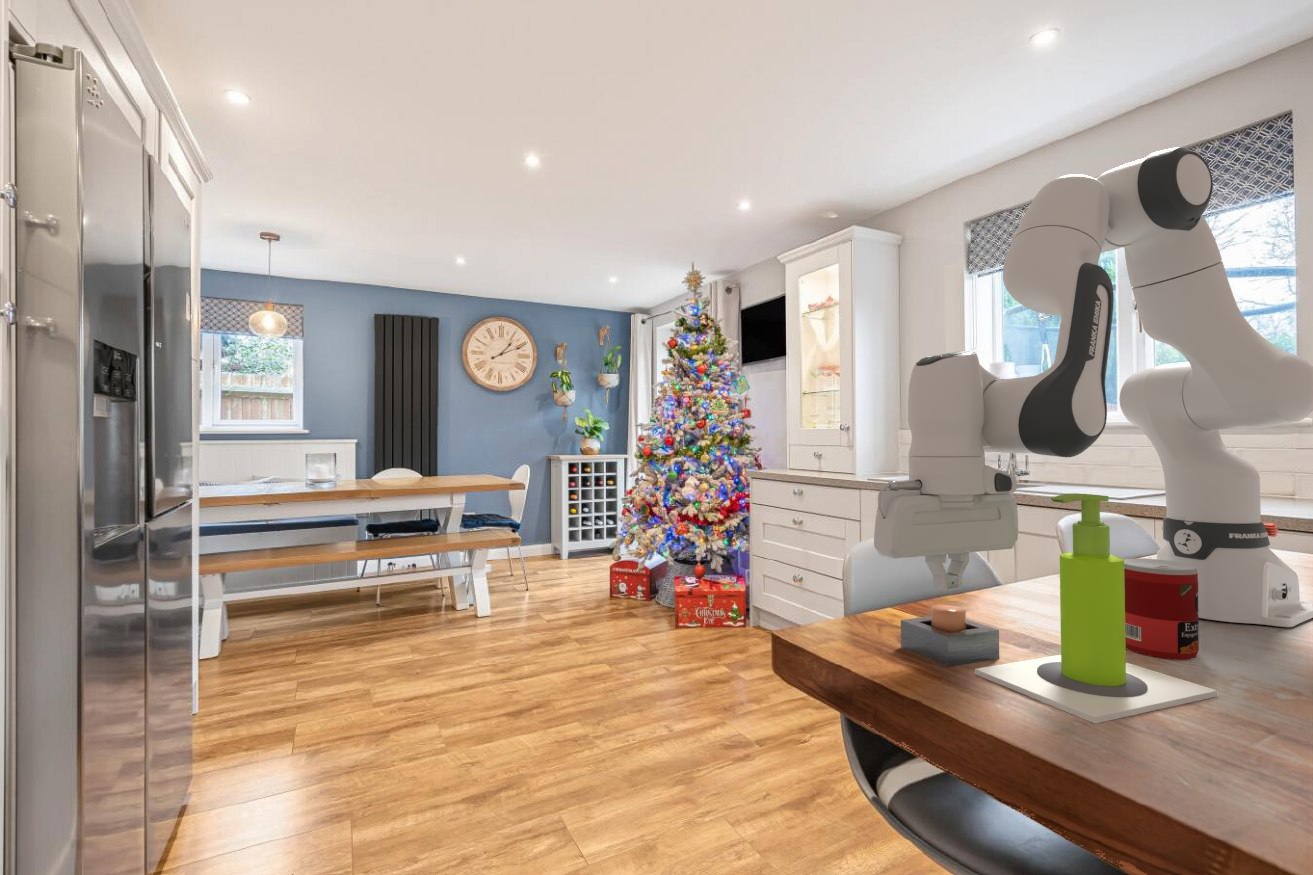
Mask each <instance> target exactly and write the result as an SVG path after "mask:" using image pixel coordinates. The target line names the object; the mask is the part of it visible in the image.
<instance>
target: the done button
mask: <svg viewBox="0 0 1313 875" xmlns="http://www.w3.org/2000/svg"><path fill="white" fill-rule="evenodd" d="M966 613H967V612H966V609H965V608H963V607H960V606H956V605H949V604H948V605H947V604H938V605H937V604H935V605H932V606H931V607H930V616H931V627H934V628H937V629H940V630H943V631H945V632H955V631H962V630H966V620H967V619H966V618H967V614H966Z"/></svg>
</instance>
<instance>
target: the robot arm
mask: <svg viewBox="0 0 1313 875" xmlns="http://www.w3.org/2000/svg"><path fill="white" fill-rule="evenodd" d="M1213 183H1214V182H1213V175H1212V171H1211V169H1210V167H1209V164H1208V162H1207V161H1206V160H1205V159H1204V157H1203V156H1202V155H1200V154H1199V153H1198V152H1195V151H1194V150H1191V149H1190V148H1187V147H1184V146H1179V147H1173V148H1172V147H1171V148H1168V149H1163V150H1159V151H1155V152H1152V153H1150V154H1149V155H1147V156H1146V157H1144V158H1141V159H1137V160H1135V161H1132V162H1127V163H1125V164H1123V165H1120V166H1118V167H1117V166H1116V167H1115V168H1112V169H1110V170H1107V171H1105V172H1103V173H1101V174H1100V175H1099V176H1097V177H1092V176H1088V175H1085V174H1067V175H1063V176H1058V177H1056V178H1054V179H1052V180H1050V181H1049V182H1047V183H1046V184H1044V186H1042V187H1041V188H1040V189H1039V191H1038V192H1037V193H1036V195H1035V196H1034V198H1033V200H1032V201H1031V202H1030V204H1029V206H1028V208H1027V209H1026V211H1025V212H1024V215H1023V217H1022V219H1021V220H1020V222H1019V224H1018V226H1017V229H1016V231H1015V234H1014V236H1013V239H1012V240H1011V244H1010V246H1009V248H1008V252H1007V253H1006V254H1007V255H1006V256H1005V260H1004V264H1003V269H1002V270H1003V271H1002V280H1003V285H1004V286H1005V289H1006V291H1007V292H1008V294H1009V295H1010V296H1011V298H1013V299H1014V300H1015V301H1016V302H1017V303H1018V304H1020V305H1022V306H1023V307H1024V308H1025V307H1026V308H1027V309H1029V310H1031V311H1033V312H1037V313H1039V314H1043V315H1048V316H1050V315H1051V316H1057V317H1060V323H1059V324H1060V325H1059V331H1058V335H1057V336H1058V337H1057V344H1056V351H1055V355H1054V362H1053V364H1052V365H1050V367H1049V368H1048V369H1046V370H1044V371H1043V372H1041V373H1039V374H1036V375H1030V376H1022V377H1014V378H1013V377H1012V378H1001V379H1000V376H998V375H994V374H993V373H991V372H990V371H988V370H986V368H984V367H983V366H982V365H981V364H980V361H979V360H980V359H979V356H978V354H977V353H976V352H975V351H970V350H958V351H953V352H947V353H943V354H942V353H941V354H935V355H930V356H926V357H923V358H921V359H920V360H918V361H917V362H916V363H915V364H914V366H913V368H912V371H911V375H910V379H909V385H908V386H909V387H908V398H907V418H908V419H907V421H908V426H909V429H910V433H911V434H910V435H911V444H910V446H909V451H908V480H904V481H897V480H894V481H893V480H892V481H889V482H887V483H886V485H884V486H883V487H882V488H881V489H880V491H879V492H878V494H877V509H876V515H875V522H874V531H873V532H874V533H873V534H874V535H873V548H874V549H875V550H876V552H877V553H878V555H880V556H882V557H887V558H891V559H907V558H909V559H910V558H920V557H924V559H925V560H924V561H925V563H926V565H927V566H928V568H929V570H930V572H931V574H932V576H933V579H932V580H933V585H932V586H933V588H934V589H935V590H938V591H947V590H958V589H962V586H963V574H964V573H965V571H966V569H967V566H968V565H969V562H970V553H977V552H990V551H1001V550H1011V549H1013V548H1014V547H1015V545H1016V543H1017V541H1018V539H1019V538H1018V537H1019V516H1018V515H1019V513H1018V512H1019V511H1018V504H1017V500H1016V498H1015V496H1014V495H1012V494H1014V493H1016V492H1017V488H1018V481H1017V478H1016V476H1014V475H1012V474H1009V473H1007V472H1005V471H1002V470H999V469H997V468H994V467H992V466H990V465H986V457H985V455H986V453H1002V454H1034V455H1035V454H1036V455H1040V456H1050V457H1059V458H1072V457H1076V456H1079V455H1080V454H1082V453H1084V452H1085V451H1087V449H1089V448H1090V447H1091V446H1092V445H1093V444H1094V443H1095V442H1096V441H1097V440H1098V439H1099V438H1100V436H1101V435H1102V433H1103V432H1104V430H1105V427H1106V426H1107V419H1108V418H1107V416H1108V408H1107V407H1108V405H1107V394H1106V378H1107V377H1106V375H1107V368H1108V367H1107V366H1108V358H1109V350H1110V341H1111V334H1112V333H1111V332H1112V325H1113V316H1114V296H1115V295H1114V288H1113V282H1112V280H1111V279H1112V278H1111V277H1110V275H1109V274H1108V272H1107V271H1106V270H1105V269H1104V268H1103V267H1102V266H1100V265H1099V260H1100V257H1101V254H1102V253H1106V252H1107V253H1108V252H1110V251H1114V250H1117V249H1118V250H1119V249H1120V248H1121V249H1122V248H1124V257H1125V265H1126V271H1127V274H1128V280H1129V283H1130V287H1131V290H1132V294H1133V297H1134V301H1135V304H1136V307H1137V311H1138V314H1139V318H1140V321H1141V325H1142V328H1143V330H1144V332H1145V333H1146V334H1147V335H1148V337H1150V338H1151V339H1152V340H1155V341H1157V342H1159V343H1160V342H1161V343H1163V344H1167V345H1169V346H1170V347H1172V348H1174V349H1175V350H1176V351H1178V353H1180V354H1182V355H1181V356H1183V357H1184V358H1185V360H1187V361H1181V362H1173V363H1165V364H1159V365H1157V366H1153V367H1150V368H1145V369H1144V370H1141V371H1138V372H1134V373H1132V374H1131V375H1130V376H1128V378H1126V380H1125V381H1124V383H1123V384H1122V386H1121V388H1120V392H1119V407H1120V409H1121V412H1122V414H1123V416H1124V417H1125V418H1126V420H1127V421H1128V422H1129V423H1131V424H1132V425H1134V426H1135V427H1136V428H1138V429H1139V430H1140V431H1141V432H1142V433H1143V434H1144V435H1145V436H1146V437H1147V438H1148V440H1149V441H1150V443H1151V444H1152V446H1153V447H1154V449H1155V452H1156V453H1157V455H1158V458H1159V461H1160V462H1161V466H1162V472H1163V478H1164V488H1165V489H1164V490H1165V492H1164V493H1165V505H1166V506H1165V507H1166V508H1165V510H1166V512H1165V513H1166V516H1165V517H1163V519H1162V526H1161V530H1162V539H1163V540H1164V541H1165V544H1164V545H1163V546H1162V547H1161V548H1160V549H1158V550H1157V552H1156V559H1157V560H1167V561H1175V562H1181V563H1186V564H1190V565H1193V566H1195V567H1197V572H1198V619H1204V620H1210V621H1211V620H1212V621H1219V622H1228V623H1235V624H1237V623H1238V624H1239V623H1241V624H1255V625H1263V626H1264V625H1266V626H1273V627H1282V628H1293V627H1295V626H1297V625H1299V624H1301V623H1304V622H1306V621H1309V620H1311V619H1312V618H1313V604H1312V603H1309V602H1305V601H1301V599H1300V583H1299V578H1298V577H1299V576H1298V573H1297V572H1296V571H1294V570H1293V568H1291V566H1289V565H1288V564H1286V562H1284V561H1283V560H1282V559H1281V558H1279V556H1278V555H1277V554H1276V553H1274V551H1272V550H1271V549H1270V548H1269V546H1270V545H1271V542H1270V539H1269V537H1272V538H1273V537H1274V538H1276V537H1277V536H1278V534H1279V527H1278V525H1277V523H1271V522H1270V523H1265V522H1263V521H1262V520H1261V519H1262V518H1261V516H1262V515H1261V477H1260V474H1259V472H1258V469H1256V467H1255V466H1254V465H1253V464H1252V463H1251V462H1250V461H1247V460H1246V459H1244V458H1242V457H1240V456H1238V455H1235V454H1233V453H1232V452H1231V451H1230V450H1229V448H1227V446H1226V445H1225V443H1224V442H1223V440H1222V438H1221V433H1220V430H1255V429H1256V430H1257V429H1258V430H1260V429H1261V430H1262V429H1264V428H1265V429H1266V428H1272V427H1279V426H1282V425H1287V424H1292V423H1296V422H1299V421H1300V422H1301V421H1302V420H1304V419H1306V418H1307V417H1309V415H1310V414H1311V413H1312V412H1313V365H1312V364H1311V363H1310V362H1309V361H1308V360H1306V359H1305V358H1303V357H1302V356H1299V355H1297V354H1294V353H1292V352H1289V351H1287V350H1284V349H1282V348H1280V347H1279V346H1276V345H1275V344H1273V343H1272V342H1270V341H1268V340H1267V339H1266V338H1265V337H1263V336H1262V335H1261V334H1260V333H1259V332H1257V330H1256V329H1254V327H1253V326H1251V324H1250V323H1249V322H1248V320H1247V319H1246V318H1245V317H1244V315H1243V314H1242V312H1241V310H1240V308H1239V307H1238V304H1237V301H1236V300H1235V297H1234V293H1233V291H1232V287H1231V284H1230V282H1229V278H1228V275H1227V272H1226V269H1225V265H1224V262H1223V259H1222V256H1221V253H1220V248H1219V247H1218V244H1217V241H1216V238H1215V236H1214V234H1213V231H1212V230H1211V228H1210V226H1209V223H1208V222H1207V220H1206V218H1205V216H1204V213H1205V211H1206V209H1207V208H1208V206H1209V203H1210V202H1211V198H1212V195H1213V190H1214V184H1213ZM947 558H948V560H950V563H949V566H948V569H947V571H946V569H945V568H946V567H944V564H946V563H947Z"/></svg>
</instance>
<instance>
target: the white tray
mask: <svg viewBox="0 0 1313 875" xmlns="http://www.w3.org/2000/svg"><path fill="white" fill-rule="evenodd" d="M974 675H976V676H979V677H980V678H983V679H986V680H988V681H990V682H993V683H995V684H998V685H1000V686H1003V687H1005V688H1007V689H1009V690H1010V689H1011V690H1012V691H1015V692H1018V693H1020V694H1021V695H1024V696H1027V697H1029V698H1031V699H1034V700H1037V701H1040V702H1042V703H1044V704H1046V705H1049V706H1051V707H1053V708H1056V709H1059V710H1061V711H1064V712H1066V713H1068V714H1070V715H1073V716H1076V717H1078V718H1080V719H1083V720H1085V721H1087V722H1090V723H1092V724H1095V725H1096V724H1100V723H1103V722H1110V721H1113V720H1117V719H1121V718H1126V717H1131V716H1136V715H1139V714H1145V713H1149V712H1153V711H1158V710H1162V709H1167V708H1172V707H1175V706H1180V705H1185V704H1189V703H1193V702H1197V701H1202V700H1208V699H1211V698H1215V697H1216V698H1217V697H1218V690H1216V689H1213V688H1211V687H1207V686H1205V685H1201V684H1198V683H1195V682H1191V681H1187V680H1184V679H1181V678H1177V677H1175V676H1171V675H1168V674H1165V673H1162V672H1158V671H1155V670H1152V669H1149V668H1145V667H1142V666H1139V665H1136V664H1133V663H1129V662H1126V683H1125V684H1124V685H1120V686H1098V685H1092V684H1087V683H1083V682H1079V681H1076V680H1073V679H1070V678H1068V677H1066V676H1065V675H1063V674H1062V672H1061V654H1056V655H1049V656H1044V657H1039V658H1033V659H1028V660H1019V661H1015V662H1007V663H1003V664H1002V663H1001V664H996V665H992V666H991V665H990V666H984V667H979V668H974Z"/></svg>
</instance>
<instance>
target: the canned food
mask: <svg viewBox="0 0 1313 875" xmlns="http://www.w3.org/2000/svg"><path fill="white" fill-rule="evenodd" d="M1123 559H1124V579H1125V643H1126V650H1128V651H1130V652H1132V653H1136V654H1139V655H1142V656H1146V657H1151V658H1156V659H1163V660H1172V661H1188V660H1194V659H1196V658H1197V656H1198V653H1199V651H1200V645H1199V644H1200V642H1199V641H1200V640H1199V639H1200V638H1199V637H1200V636H1199V627H1200V625H1199V618H1198V572H1197V567H1195V566H1193V565H1190V564H1186V563H1181V562H1175V561H1167V560H1157V558H1156V559H1155V558H1138V557H1137V558H1136V557H1135V558H1131V557H1130V558H1123Z"/></svg>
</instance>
